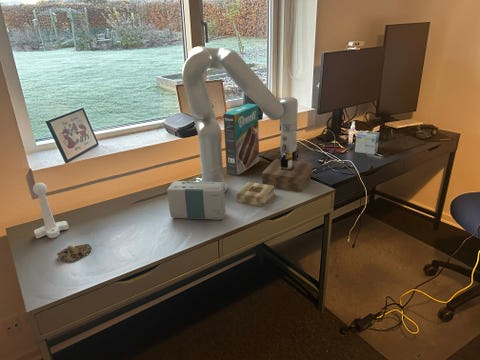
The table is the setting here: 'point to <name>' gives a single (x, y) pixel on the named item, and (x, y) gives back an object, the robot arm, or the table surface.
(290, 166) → the orange capped bottle
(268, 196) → the stand
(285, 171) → the block
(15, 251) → the table surface
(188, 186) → the stereo radio cassette player
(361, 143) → the light bulb box
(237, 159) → the cake mix box
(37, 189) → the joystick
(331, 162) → the hacksaw
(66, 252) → the mineral rock
